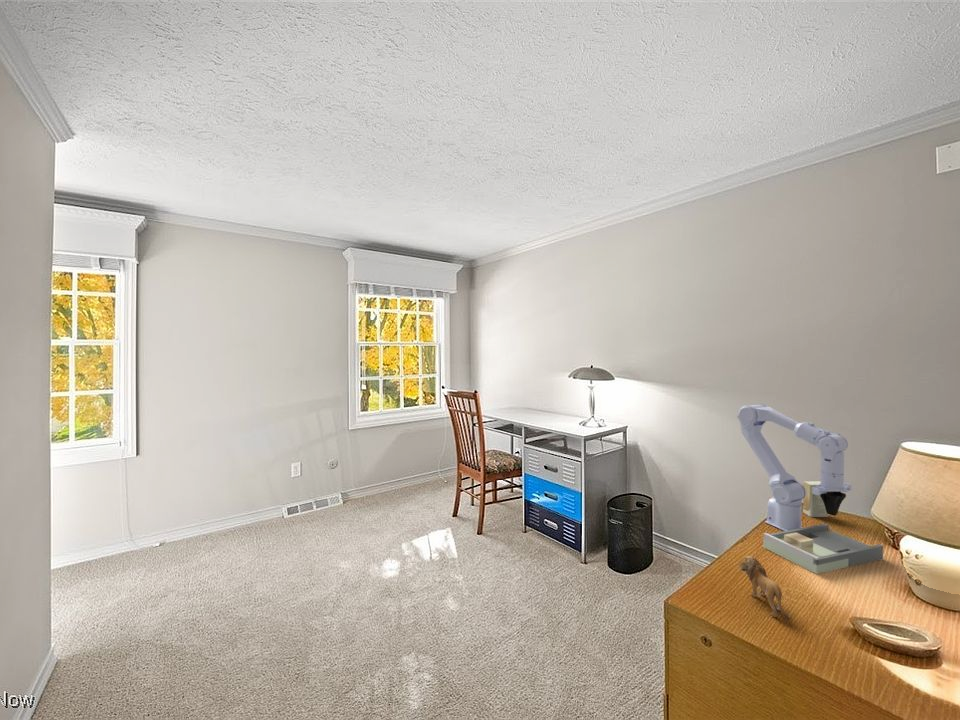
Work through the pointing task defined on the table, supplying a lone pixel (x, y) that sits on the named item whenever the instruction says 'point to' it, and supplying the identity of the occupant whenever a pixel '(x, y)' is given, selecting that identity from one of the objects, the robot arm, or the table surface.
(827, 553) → the trap box
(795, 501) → the robot arm
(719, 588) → the table surface
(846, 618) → the table surface
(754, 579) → the lion figurine
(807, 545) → the birch block
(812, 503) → the skincare box
